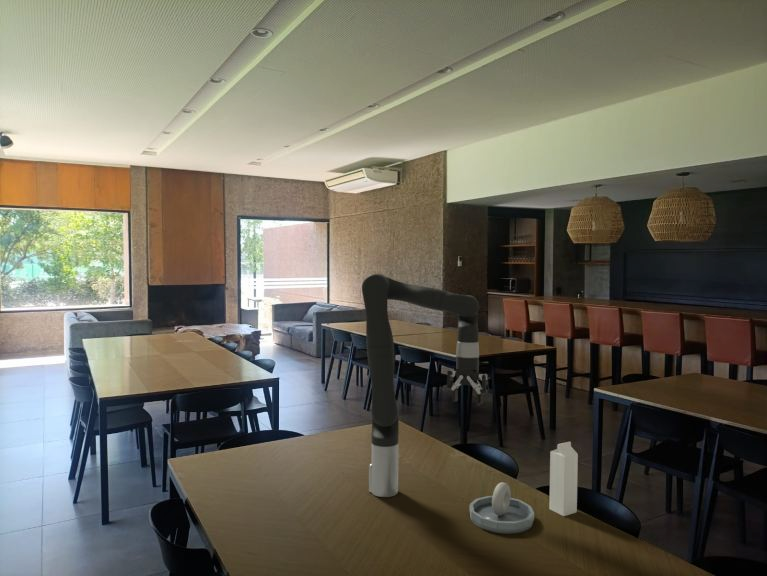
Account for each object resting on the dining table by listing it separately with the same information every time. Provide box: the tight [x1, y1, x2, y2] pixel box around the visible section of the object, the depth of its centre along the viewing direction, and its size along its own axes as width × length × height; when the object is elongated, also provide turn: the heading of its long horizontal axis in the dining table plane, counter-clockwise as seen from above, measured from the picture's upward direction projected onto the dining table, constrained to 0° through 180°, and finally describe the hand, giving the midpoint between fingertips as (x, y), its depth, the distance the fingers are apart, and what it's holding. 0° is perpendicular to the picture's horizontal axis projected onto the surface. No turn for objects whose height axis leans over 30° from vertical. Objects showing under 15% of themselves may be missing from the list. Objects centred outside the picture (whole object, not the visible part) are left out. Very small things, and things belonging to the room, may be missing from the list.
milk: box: [548, 441, 579, 517], centre depth 178 cm, size 6×6×22 cm
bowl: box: [469, 495, 535, 535], centre depth 172 cm, size 19×19×3 cm
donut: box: [492, 482, 512, 516], centre depth 172 cm, size 10×3×10 cm, turn 148°
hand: (467, 402), depth 187 cm, fingers open, 8 cm apart
